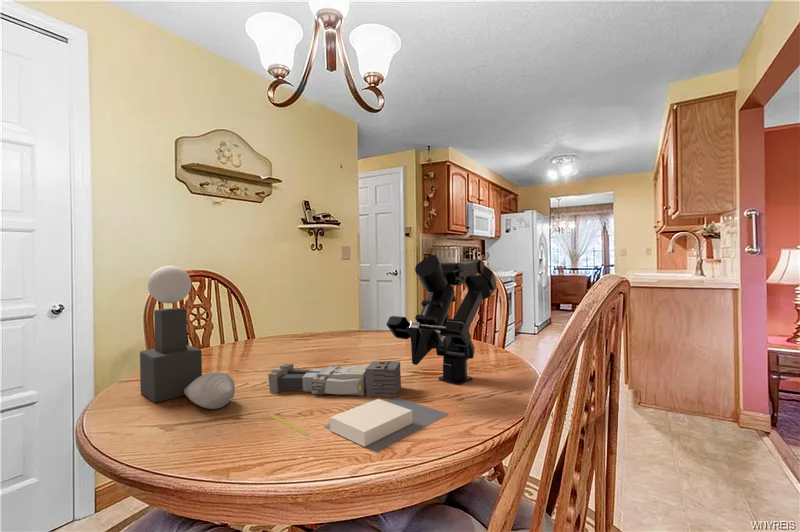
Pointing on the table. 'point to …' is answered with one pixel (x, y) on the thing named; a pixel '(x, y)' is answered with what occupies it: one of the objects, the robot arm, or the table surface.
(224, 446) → the table surface
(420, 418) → the mat
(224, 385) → the seashell
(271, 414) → the pencil
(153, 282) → the sculpture
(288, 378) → the toy figure
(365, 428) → the cream rectangular block
